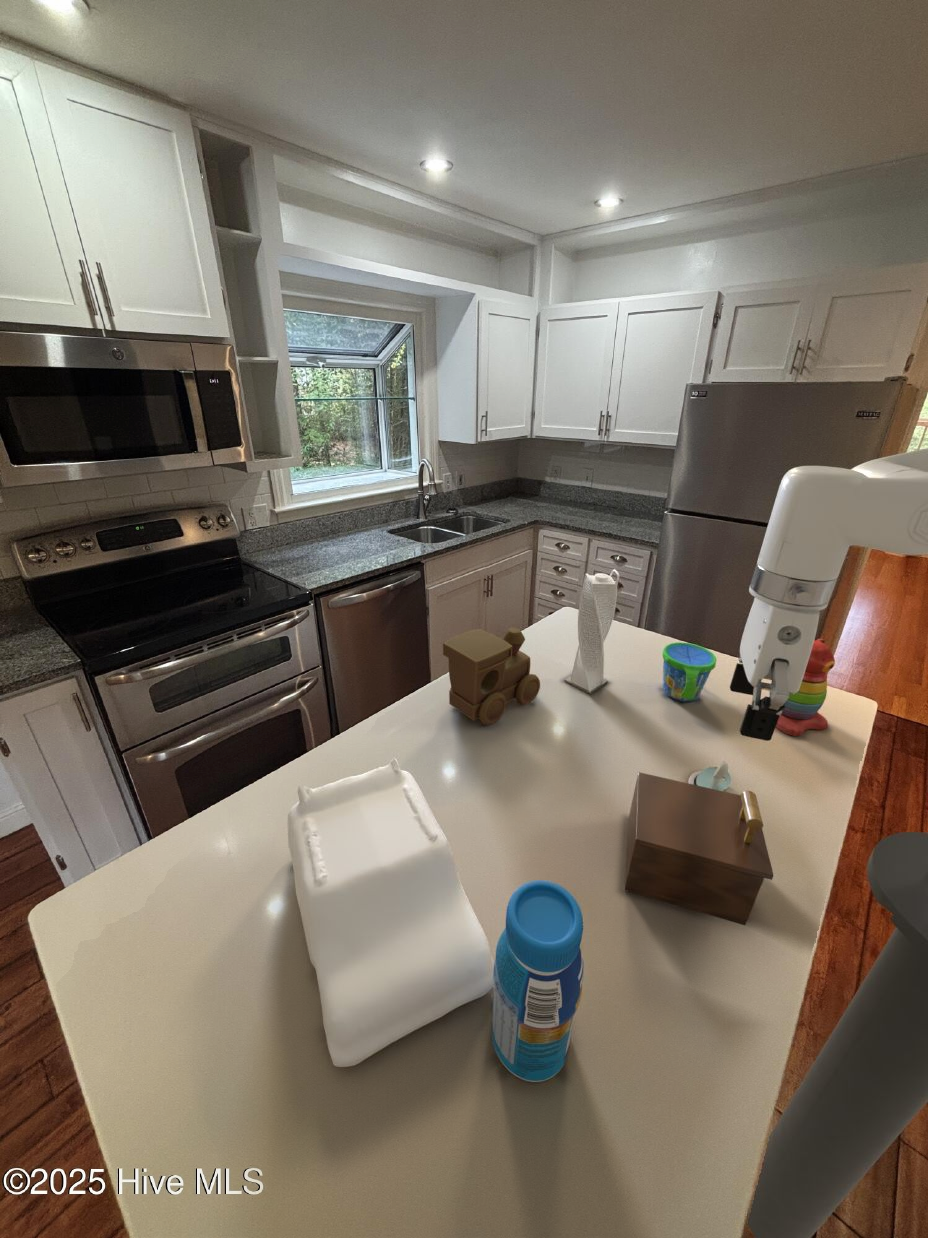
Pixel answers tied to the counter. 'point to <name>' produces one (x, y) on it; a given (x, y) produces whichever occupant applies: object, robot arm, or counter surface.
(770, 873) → the lid
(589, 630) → the skyscraper
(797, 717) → the stacking bear
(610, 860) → the counter surface
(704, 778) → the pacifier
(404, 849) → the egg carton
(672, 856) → the chest
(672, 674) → the snack cup
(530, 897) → the beverage bottle
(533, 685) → the wooden toy train
